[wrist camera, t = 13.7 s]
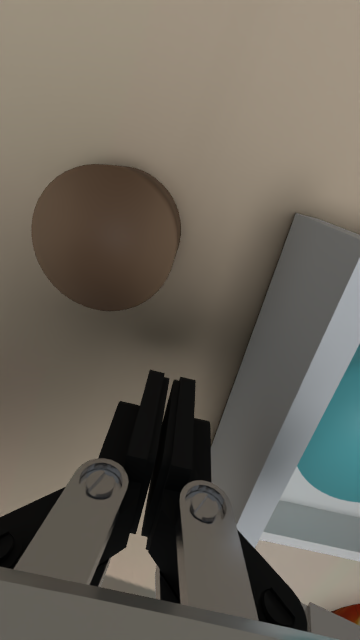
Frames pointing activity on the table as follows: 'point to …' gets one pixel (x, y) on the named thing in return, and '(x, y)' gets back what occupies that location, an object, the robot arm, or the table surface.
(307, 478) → the disc
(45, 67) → the table surface
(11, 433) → the table surface
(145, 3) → the table surface
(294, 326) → the grey drawer
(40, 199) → the brown short rounded cylinder
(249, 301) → the table surface
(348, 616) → the mug
